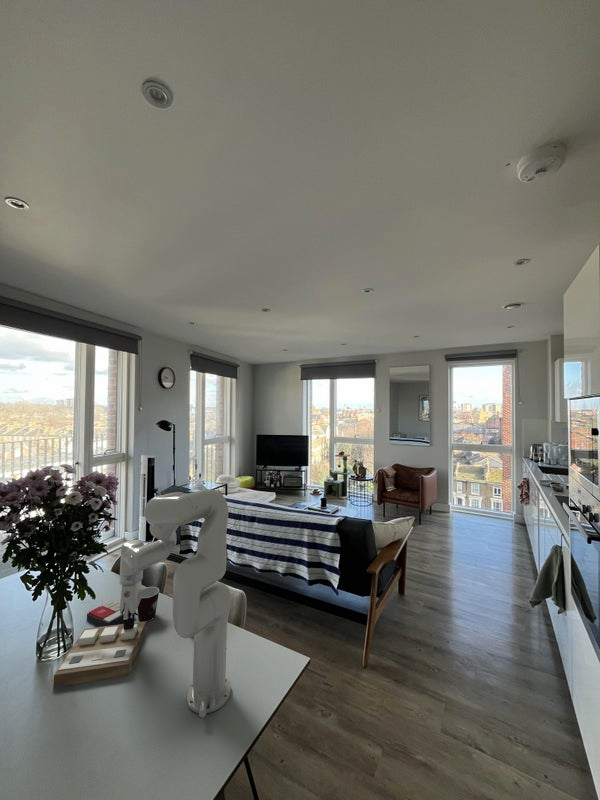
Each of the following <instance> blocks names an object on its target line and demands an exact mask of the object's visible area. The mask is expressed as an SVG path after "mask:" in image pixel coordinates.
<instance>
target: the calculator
mask: <svg viewBox="0 0 600 800" xmlns="http://www.w3.org/2000/svg"><path fill="white" fill-rule="evenodd" d="M123 618H124V612H123V614H122V615H121V614H120V602H119V601H116V600H114V599H112V600H110V601H107V602H105V603H104V604H102V605H101V606H97V607H96V608H94V609H92V610H89V611H88V612H87V613H86V621H87V622H88V623H90V624H92V625H95V626H96V627H103V626H112V625H120V624H124V619H123Z"/></svg>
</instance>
